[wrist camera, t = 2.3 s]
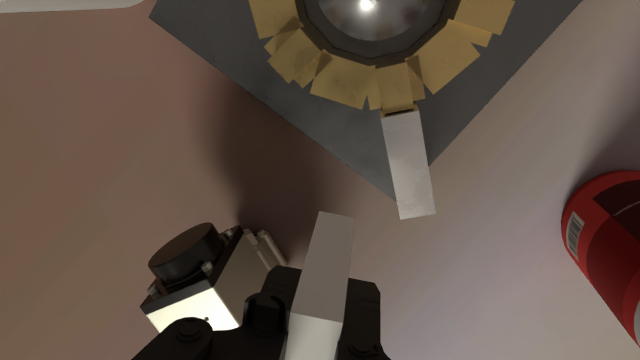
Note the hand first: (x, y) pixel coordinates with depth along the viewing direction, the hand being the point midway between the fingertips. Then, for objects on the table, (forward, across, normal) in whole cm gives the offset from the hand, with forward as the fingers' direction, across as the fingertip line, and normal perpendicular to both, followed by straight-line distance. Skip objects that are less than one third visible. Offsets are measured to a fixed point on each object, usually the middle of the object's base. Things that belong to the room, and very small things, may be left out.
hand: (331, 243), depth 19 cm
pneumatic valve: (+14, -6, -10) cm, 18 cm away
